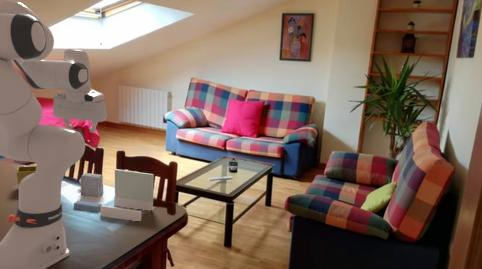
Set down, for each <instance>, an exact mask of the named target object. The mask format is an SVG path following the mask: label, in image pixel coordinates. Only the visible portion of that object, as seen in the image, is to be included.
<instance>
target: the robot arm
mask: <svg viewBox="0 0 482 269" xmlns="http://www.w3.org/2000/svg"><path fill="white" fill-rule="evenodd" d="M54 44H55V39H54V35H53V33H52V30H50V28H49V27H48V25H46V23H45V22H44V21H43V20H42V18H40V17H39V15H37V13H35V12H34V11H33V10H31V9H30V8H29V7H28V6H26V5H25V4H23V3H22V2H19V1H17V0H4V1H2V2H0V156H1V157H4V158H7V159H10V160H14V161H20V162H30V163H35V166H36V171H35V173H32V174H30V175H28V176H26V177H25V178H23V180H22V181H21V182H20V184H18V208H17V209H16V213H15V214H9V215H8V216H7V222H11V223H14V224H13V225H12V227H10V229H9V230H8V231H7V233H6V234H5V236H4V237H3V238H2V240H0V269H47V268H49V267H51V266H52V265H54V264H56V263H58V262H59V261H61V260H63V259H66V258H67V257H68V256H70V255H71V252H70V250H69V248H68V247H67V239H66V238H67V237H66V228H65V226H64V224H63V221H62V218H63V205H62V204H61V199H62V198H61V196H62V183H63V179H64V177H65V175H66V173H67V171H68V170H69V169H70V168H71V167H72V166H74V165H75V164H77V163H78V162H79V161H80V160H81V159H82V158H83V156H84V153H85V150H86V142H85V141H86V140H85V139H84V136H83V135H82V133H81V132H79V131H77V130H75V129H74V128H73V127H74V125H73V124H71V121H70V120H78V121H89V122H91V124H92V126H91V127H89V133H92V134H93V133H96V129H97V128H96V127H97V126H98V124H99V123H102V122H105V121H106V120H107V119H108V109H107V104H106V102H105V101H104V100H105V94H104V93H102V92H99V91H97V90H95V89H93V88H92V84H91V81H90V80H91V66H90V60H89V54H88V52H86V51H85V50H83V49H82V50H81V49H75V48H74V49H70V48H69V49H66V50H64V53H63V60H54V59H53V60H51V59H45V58H47V57H48V56H49V55H50V54H51V53H52V51H53V48H54ZM13 63H14V64H15V66H17V68H18V69H19V70H20V71H21V73H22V74H23V75H24V77H23V76H22V75H21V73H20V72H19V71H18V70H17V69H16V68H15V67H14V64H13ZM31 88H33V89H35V90H47V89H48V90H65V91H64V92H56V93H55V94H54V95H53V96H52V97H53V98H52V100H53V107H52V108H53V109H52V110H53V112H52V113H53V114H52V115H53V116H54V117H55V118H57V119H58V118H59V119H62V121H63V123H64V125H65V127H64V126H57V125H46V124H40V122H41V120H42V117H43V107H42V105H41V103H40V101H38V99H37V98H36V95H35V94H34V92H33V90H32V89H31Z"/></svg>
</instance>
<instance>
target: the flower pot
mask: <svg viewBox="0 0 482 269" xmlns="http://www.w3.org/2000/svg"><path fill="white" fill-rule="evenodd" d="M35 171H36V165H29V166H18V167H17V170H16V177H17V178H16V179H17V184H18V185H19V184H20V182H21V181H22V180H23V178H25V177H26V176H28V175H30V174H32V173H35Z"/></svg>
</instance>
